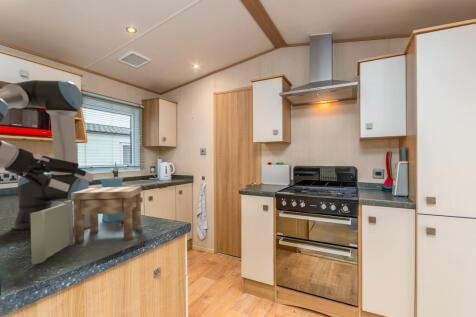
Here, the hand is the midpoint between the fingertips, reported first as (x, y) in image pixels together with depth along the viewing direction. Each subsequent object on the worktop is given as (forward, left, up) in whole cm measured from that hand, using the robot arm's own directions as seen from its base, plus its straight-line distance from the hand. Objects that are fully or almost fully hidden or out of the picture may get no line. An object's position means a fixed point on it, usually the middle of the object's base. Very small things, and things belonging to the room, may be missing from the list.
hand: (79, 183), depth 87 cm
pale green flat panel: (+9, -10, -20) cm, 24 cm away
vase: (-19, +20, -21) cm, 34 cm away
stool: (+4, +9, -21) cm, 23 cm away
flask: (-17, +7, -21) cm, 28 cm away
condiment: (-7, +22, -21) cm, 31 cm away
